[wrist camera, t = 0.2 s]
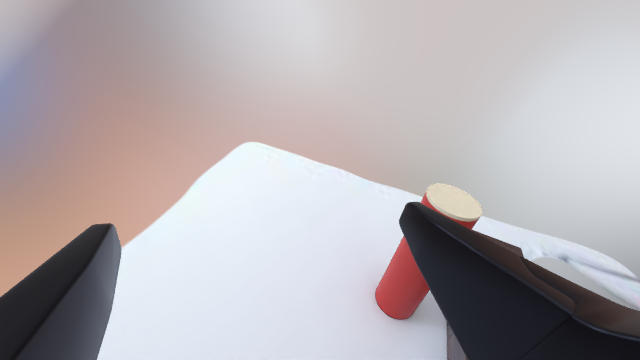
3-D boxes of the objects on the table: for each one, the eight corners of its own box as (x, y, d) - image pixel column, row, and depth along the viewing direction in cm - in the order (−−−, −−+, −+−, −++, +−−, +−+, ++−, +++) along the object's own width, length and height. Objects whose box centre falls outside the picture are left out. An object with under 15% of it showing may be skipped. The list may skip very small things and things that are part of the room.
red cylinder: (422, 314, 26) (494, 215, 19) (387, 323, 24) (451, 220, 17) (400, 279, 28) (456, 182, 21) (368, 286, 27) (417, 184, 20)
